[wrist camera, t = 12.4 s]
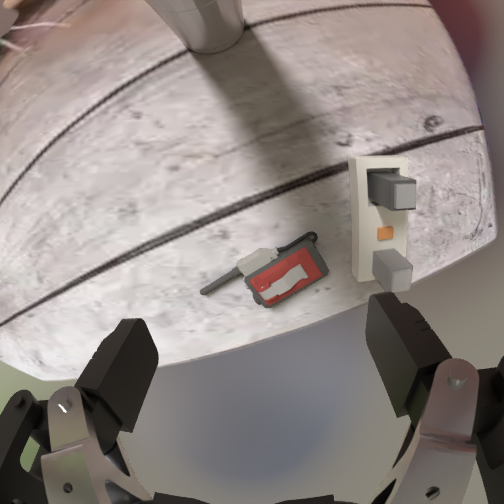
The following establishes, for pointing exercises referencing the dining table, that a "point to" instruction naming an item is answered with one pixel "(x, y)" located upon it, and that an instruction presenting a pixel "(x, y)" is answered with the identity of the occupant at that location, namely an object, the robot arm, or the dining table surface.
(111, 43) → the dining table surface
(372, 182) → the plug
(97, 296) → the dining table surface
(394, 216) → the power strip
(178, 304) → the dining table surface
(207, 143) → the dining table surface
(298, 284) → the walkie-talkie
